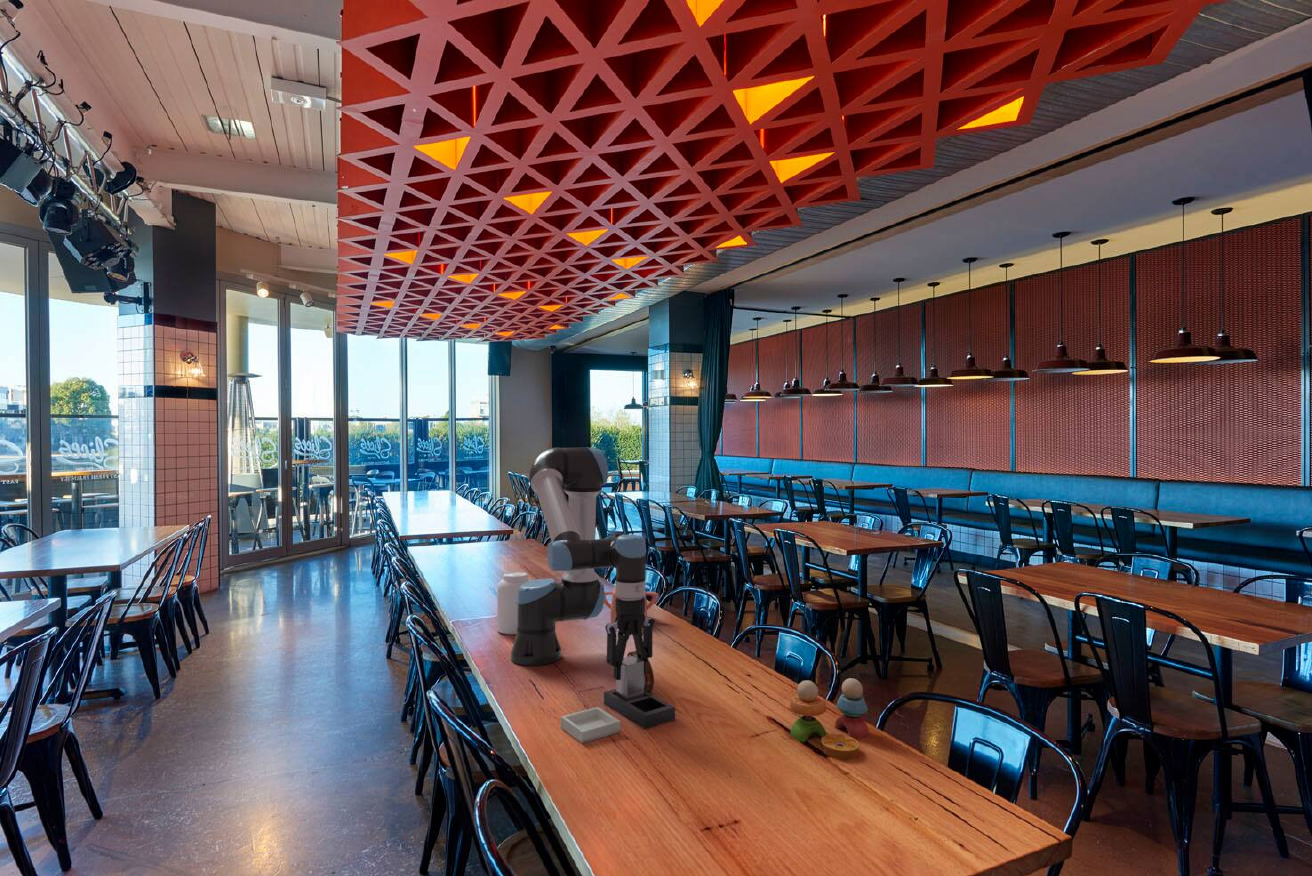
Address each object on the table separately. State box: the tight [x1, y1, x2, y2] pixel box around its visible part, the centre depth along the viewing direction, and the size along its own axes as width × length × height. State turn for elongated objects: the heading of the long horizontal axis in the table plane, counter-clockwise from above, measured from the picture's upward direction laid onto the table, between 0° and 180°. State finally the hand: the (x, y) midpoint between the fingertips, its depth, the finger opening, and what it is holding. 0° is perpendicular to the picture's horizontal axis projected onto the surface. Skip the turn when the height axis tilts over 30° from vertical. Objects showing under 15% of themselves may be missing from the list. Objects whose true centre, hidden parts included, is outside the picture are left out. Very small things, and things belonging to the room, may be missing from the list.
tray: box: [560, 706, 621, 744], centre depth 151 cm, size 10×10×2 cm
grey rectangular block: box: [616, 656, 644, 701], centre depth 165 cm, size 5×5×11 cm
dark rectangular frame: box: [603, 688, 676, 730], centre depth 162 cm, size 18×9×3 cm, turn 36°
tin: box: [626, 650, 655, 692], centre depth 179 cm, size 15×3×8 cm, turn 22°
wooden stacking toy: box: [789, 677, 870, 760], centre depth 148 cm, size 18×17×12 cm
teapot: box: [604, 585, 659, 625], centre depth 246 cm, size 20×22×14 cm
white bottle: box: [496, 571, 532, 636], centre depth 230 cm, size 12×12×20 cm
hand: (629, 689), depth 165 cm, fingers closed on grey rectangular block, 5 cm apart
